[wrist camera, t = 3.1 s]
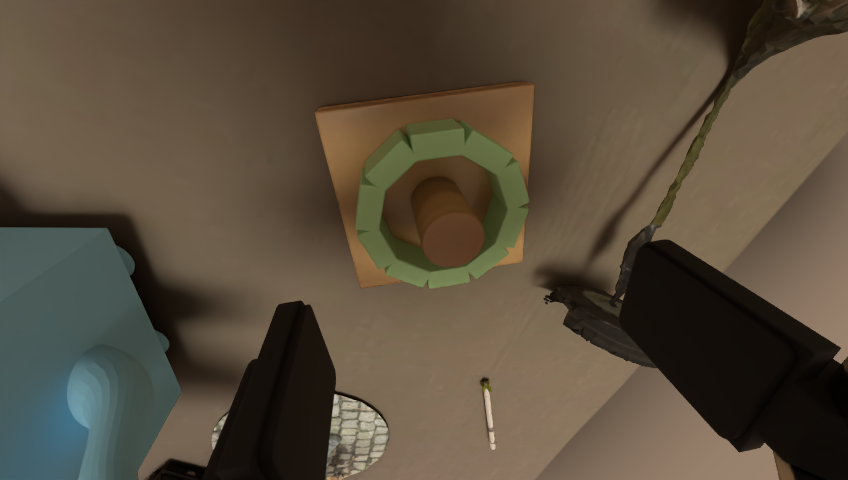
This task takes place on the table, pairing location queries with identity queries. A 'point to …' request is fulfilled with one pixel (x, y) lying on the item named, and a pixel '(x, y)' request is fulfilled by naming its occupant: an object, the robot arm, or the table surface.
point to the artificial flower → (766, 36)
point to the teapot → (76, 359)
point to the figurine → (347, 438)
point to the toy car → (176, 474)
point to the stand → (427, 170)
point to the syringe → (488, 412)
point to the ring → (432, 144)
